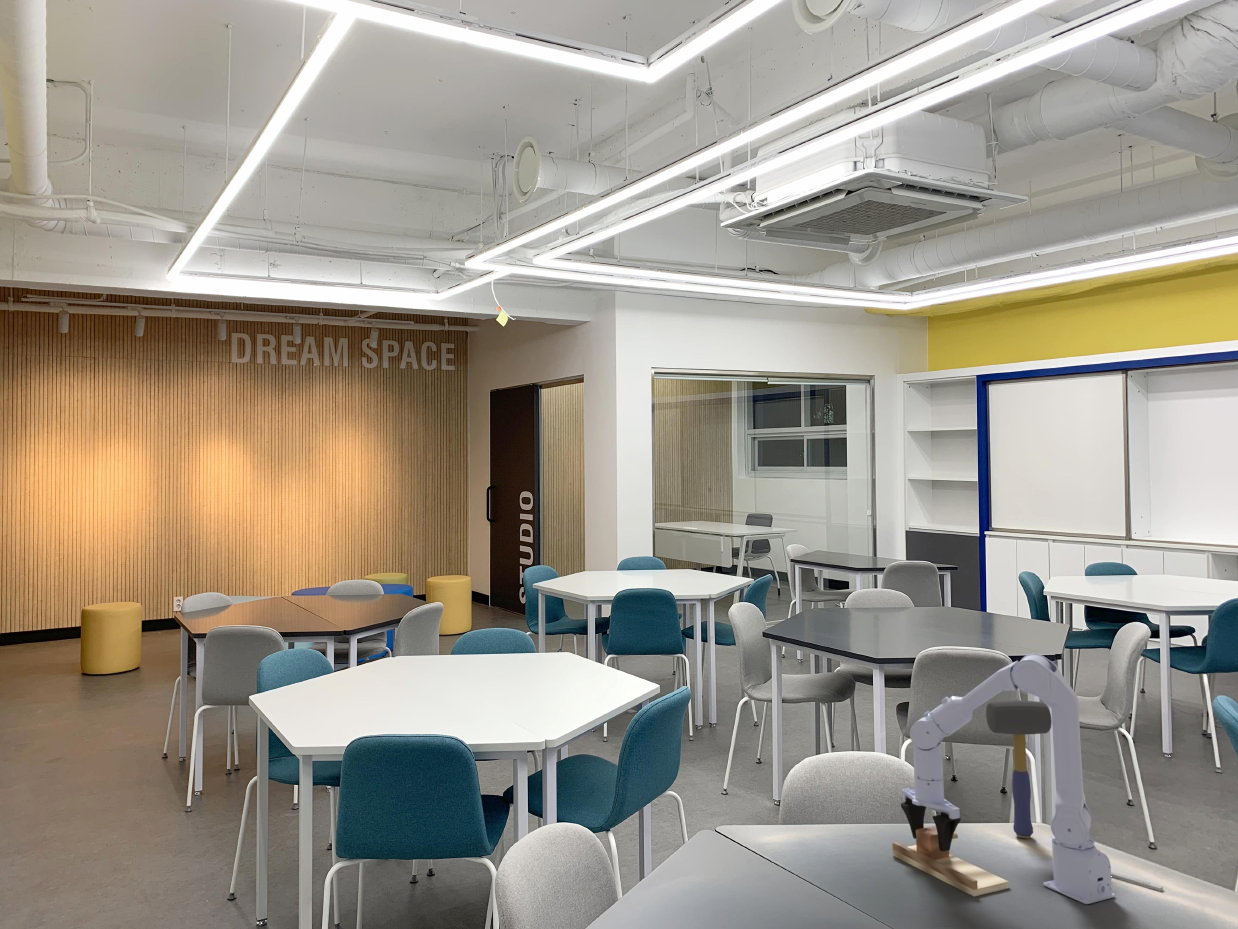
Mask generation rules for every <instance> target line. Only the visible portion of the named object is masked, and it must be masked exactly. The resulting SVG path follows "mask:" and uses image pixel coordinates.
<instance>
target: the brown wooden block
mask: <svg viewBox="0 0 1238 929" xmlns="http://www.w3.org/2000/svg"><path fill="white" fill-rule="evenodd" d="M955 839H959V836H958V834H957V833H955V832H954V834H953V838H952V840H955ZM915 841H916V844H915V845H916V847H917V852H919V853H921V854H923V855H925V856H927V857H929V858H931V859H933V860H938V859H942V858H947V857H949V854H950V850H948V851H940V848H939V842H938V833H937V829H936V825H933V826H927V827H924V828H922V829H917V830H916V839H915Z"/></svg>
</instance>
